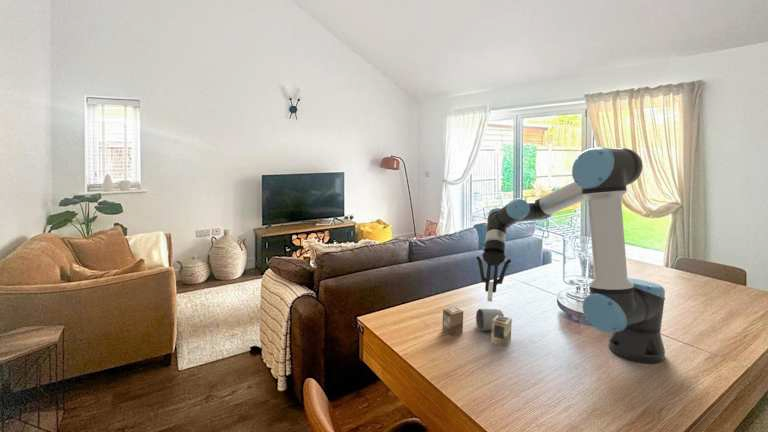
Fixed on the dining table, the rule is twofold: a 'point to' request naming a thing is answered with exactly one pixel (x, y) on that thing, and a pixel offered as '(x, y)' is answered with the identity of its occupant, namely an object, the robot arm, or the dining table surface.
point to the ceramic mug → (486, 318)
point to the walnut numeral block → (452, 321)
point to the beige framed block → (501, 330)
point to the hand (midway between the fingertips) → (489, 299)
